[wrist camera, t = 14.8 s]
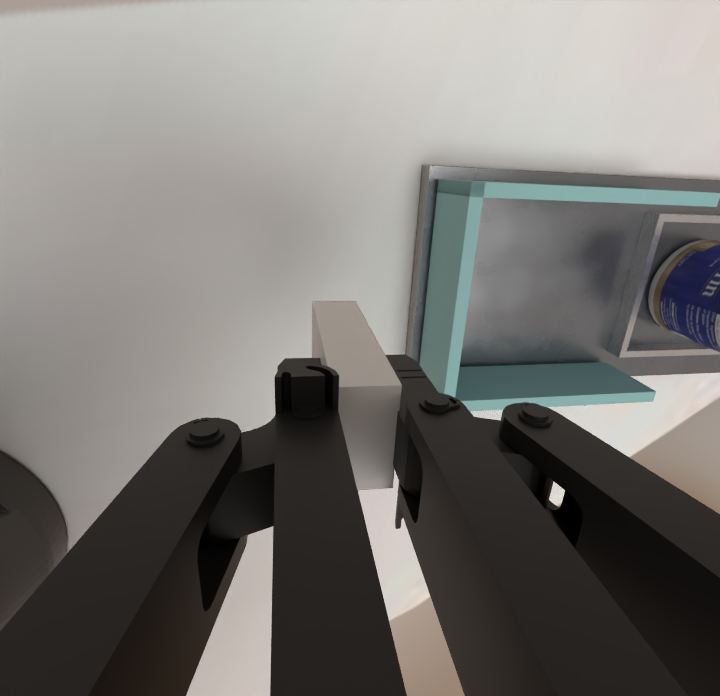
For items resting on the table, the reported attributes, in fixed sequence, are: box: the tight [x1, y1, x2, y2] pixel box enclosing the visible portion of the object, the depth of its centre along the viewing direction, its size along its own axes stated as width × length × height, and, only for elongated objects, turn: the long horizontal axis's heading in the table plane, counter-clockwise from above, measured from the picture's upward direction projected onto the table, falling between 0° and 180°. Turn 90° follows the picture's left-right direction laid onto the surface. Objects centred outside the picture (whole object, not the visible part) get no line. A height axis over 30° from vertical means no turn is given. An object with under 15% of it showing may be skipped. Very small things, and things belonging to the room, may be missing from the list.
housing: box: [419, 179, 720, 411], centre depth 23 cm, size 12×11×4 cm
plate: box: [406, 166, 720, 376], centre depth 26 cm, size 22×12×2 cm, turn 87°
